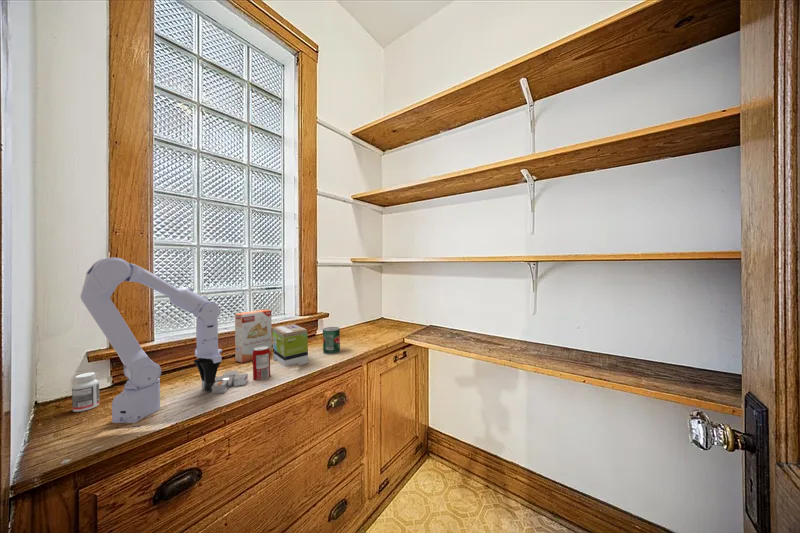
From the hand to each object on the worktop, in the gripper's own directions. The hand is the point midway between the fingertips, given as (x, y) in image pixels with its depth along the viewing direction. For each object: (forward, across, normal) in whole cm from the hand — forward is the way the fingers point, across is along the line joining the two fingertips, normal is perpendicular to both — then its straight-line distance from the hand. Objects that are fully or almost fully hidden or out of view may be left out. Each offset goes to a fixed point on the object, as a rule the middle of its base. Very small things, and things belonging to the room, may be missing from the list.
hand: (208, 381), depth 90 cm
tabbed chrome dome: (+3, 0, -5) cm, 6 cm away
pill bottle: (+5, +22, +24) cm, 33 cm away
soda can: (+5, -4, -16) cm, 17 cm away
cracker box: (+5, +24, -28) cm, 37 cm away
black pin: (+2, 0, 0) cm, 2 cm away
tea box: (+5, +5, -33) cm, 34 cm away
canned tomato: (+5, +1, -52) cm, 53 cm away
